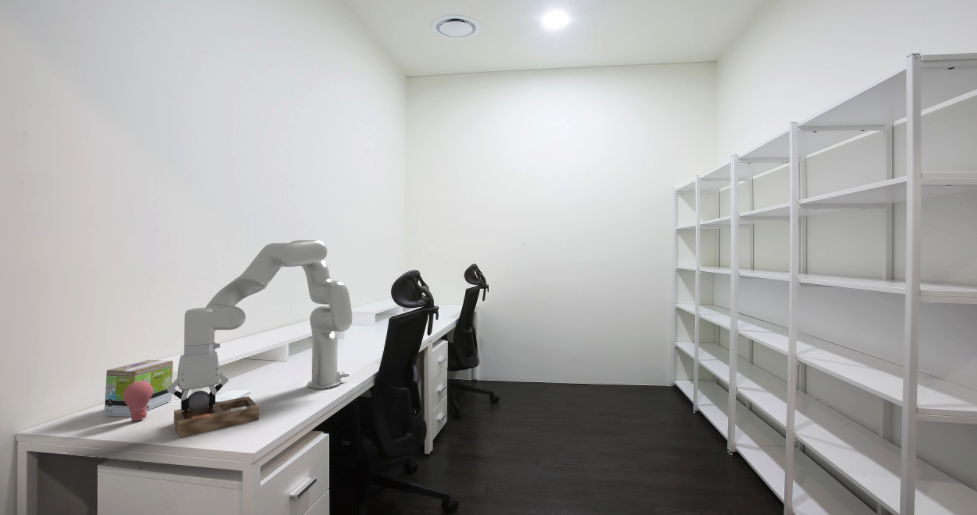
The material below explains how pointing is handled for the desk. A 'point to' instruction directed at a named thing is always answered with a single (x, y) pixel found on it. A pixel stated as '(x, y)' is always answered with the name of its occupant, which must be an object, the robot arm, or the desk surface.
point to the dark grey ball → (198, 401)
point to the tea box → (147, 371)
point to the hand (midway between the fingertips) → (198, 408)
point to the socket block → (216, 416)
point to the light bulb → (138, 399)
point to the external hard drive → (232, 395)
